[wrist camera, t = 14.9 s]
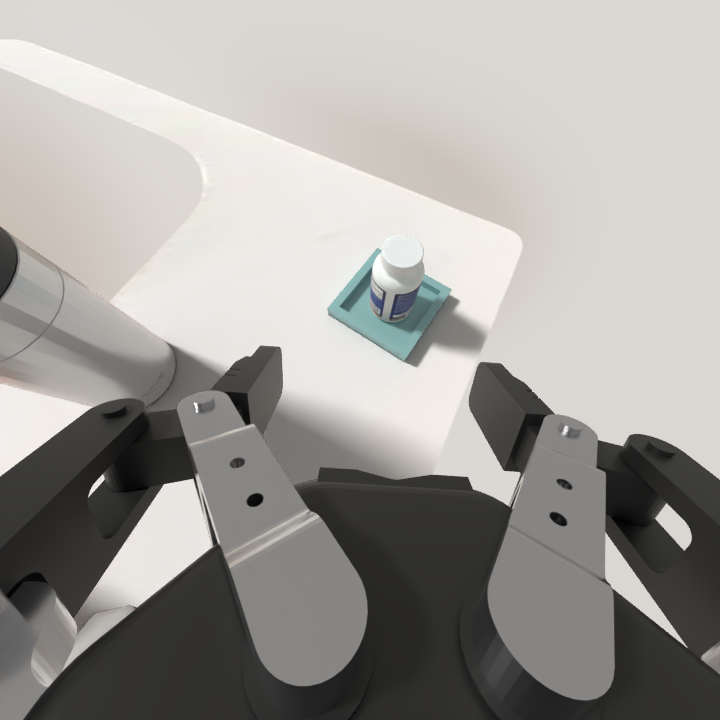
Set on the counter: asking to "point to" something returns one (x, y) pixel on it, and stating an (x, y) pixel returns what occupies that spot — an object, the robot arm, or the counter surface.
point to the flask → (97, 629)
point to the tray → (387, 335)
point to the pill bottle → (396, 278)
